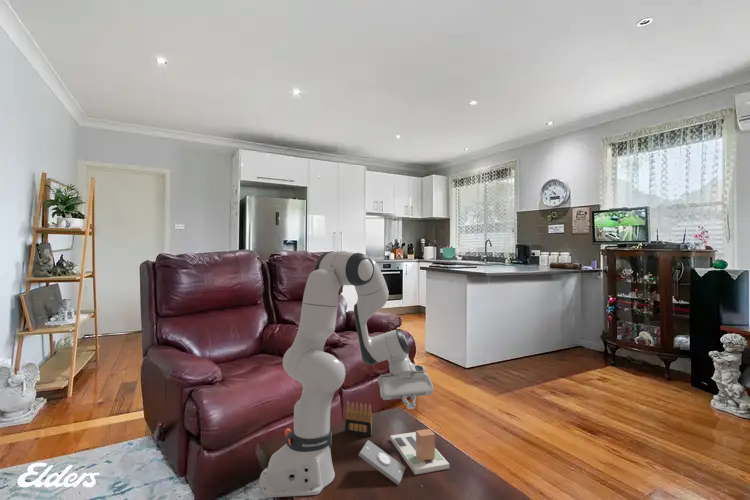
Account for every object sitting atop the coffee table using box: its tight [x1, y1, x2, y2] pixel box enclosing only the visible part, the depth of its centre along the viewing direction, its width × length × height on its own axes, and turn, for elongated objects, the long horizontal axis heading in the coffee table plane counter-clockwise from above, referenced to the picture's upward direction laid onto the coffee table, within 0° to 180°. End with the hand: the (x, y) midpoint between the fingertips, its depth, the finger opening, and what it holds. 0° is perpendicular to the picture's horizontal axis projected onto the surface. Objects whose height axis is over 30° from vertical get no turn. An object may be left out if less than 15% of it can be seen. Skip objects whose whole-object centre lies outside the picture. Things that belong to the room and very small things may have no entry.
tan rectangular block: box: [415, 428, 436, 461], centre depth 125 cm, size 5×4×8 cm
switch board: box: [389, 431, 450, 475], centre depth 131 cm, size 12×23×2 cm, turn 17°
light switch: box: [358, 439, 407, 486], centre depth 118 cm, size 8×6×14 cm
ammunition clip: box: [344, 400, 373, 437], centre depth 145 cm, size 11×2×12 cm, turn 73°
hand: (411, 408), depth 136 cm, fingers closed
